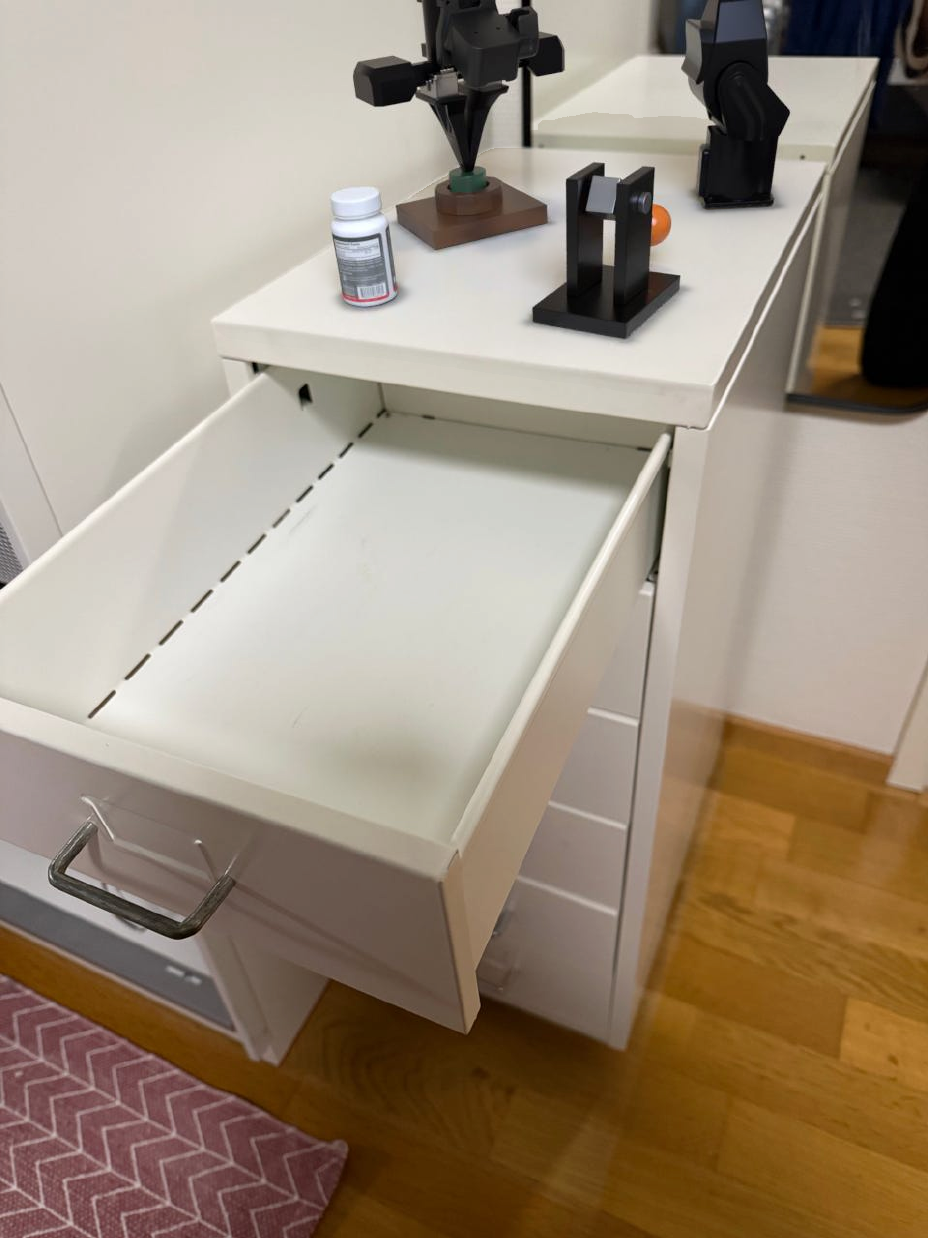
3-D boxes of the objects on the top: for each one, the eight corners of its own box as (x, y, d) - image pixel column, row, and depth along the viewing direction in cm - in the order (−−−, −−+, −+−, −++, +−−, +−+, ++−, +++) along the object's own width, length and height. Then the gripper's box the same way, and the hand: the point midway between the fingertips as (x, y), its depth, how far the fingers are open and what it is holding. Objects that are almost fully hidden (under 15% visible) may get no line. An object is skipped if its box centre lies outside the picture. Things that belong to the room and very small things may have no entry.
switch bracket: (590, 276, 75) (592, 150, 68) (679, 289, 71) (690, 157, 65) (532, 322, 69) (527, 188, 62) (625, 339, 65) (631, 198, 59)
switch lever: (635, 247, 75) (644, 206, 74) (670, 251, 73) (680, 210, 72) (577, 215, 65) (587, 168, 64) (617, 220, 63) (628, 171, 62)
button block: (502, 197, 93) (500, 161, 91) (547, 222, 86) (547, 184, 83) (397, 222, 90) (393, 185, 87) (435, 249, 83) (431, 210, 80)
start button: (477, 182, 88) (476, 163, 86) (493, 190, 85) (492, 171, 84) (444, 189, 87) (442, 170, 85) (459, 198, 84) (457, 178, 83)
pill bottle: (364, 283, 78) (348, 181, 72) (408, 289, 76) (395, 186, 70) (332, 303, 75) (313, 199, 69) (377, 311, 73) (361, 204, 67)
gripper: (382, -5, 66) (408, 212, 77) (597, -39, 71) (594, 170, 81) (337, -16, 74) (366, 183, 84) (533, -46, 79) (538, 146, 89)
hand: (467, 170), depth 85 cm, fingers closed, pressing on start button
